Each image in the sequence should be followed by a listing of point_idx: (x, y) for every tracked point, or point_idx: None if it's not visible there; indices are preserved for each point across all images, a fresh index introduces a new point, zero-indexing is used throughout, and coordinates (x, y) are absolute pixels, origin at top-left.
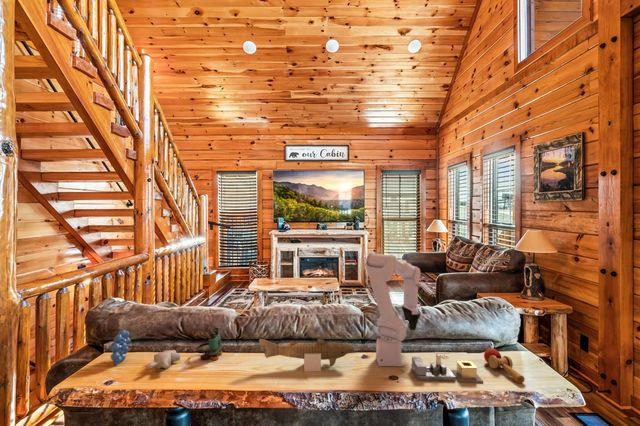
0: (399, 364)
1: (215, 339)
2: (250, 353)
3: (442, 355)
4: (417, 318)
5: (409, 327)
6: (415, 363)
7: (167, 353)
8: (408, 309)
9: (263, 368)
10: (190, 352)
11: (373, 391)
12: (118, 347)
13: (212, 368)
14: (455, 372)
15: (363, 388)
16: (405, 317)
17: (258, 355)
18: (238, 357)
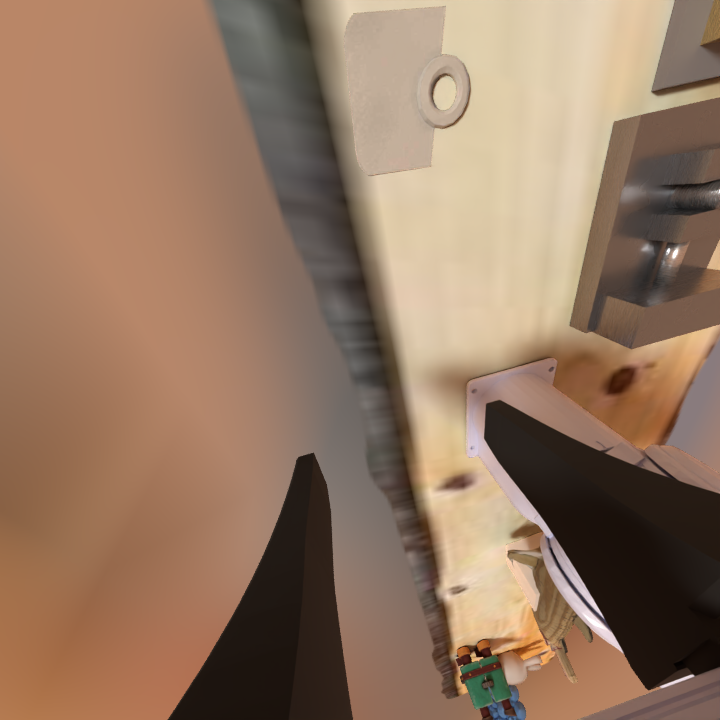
0: (548, 375)
1: (506, 695)
2: (455, 630)
3: (423, 110)
4: (687, 498)
5: (498, 455)
6: (699, 329)
7: (517, 681)
8: (328, 704)
9: (521, 593)
10: (456, 665)
11: (675, 416)
12: (522, 710)
13: (515, 627)
14: (703, 60)
15: (652, 439)
16: (330, 556)
17: (463, 620)
18: (473, 630)
